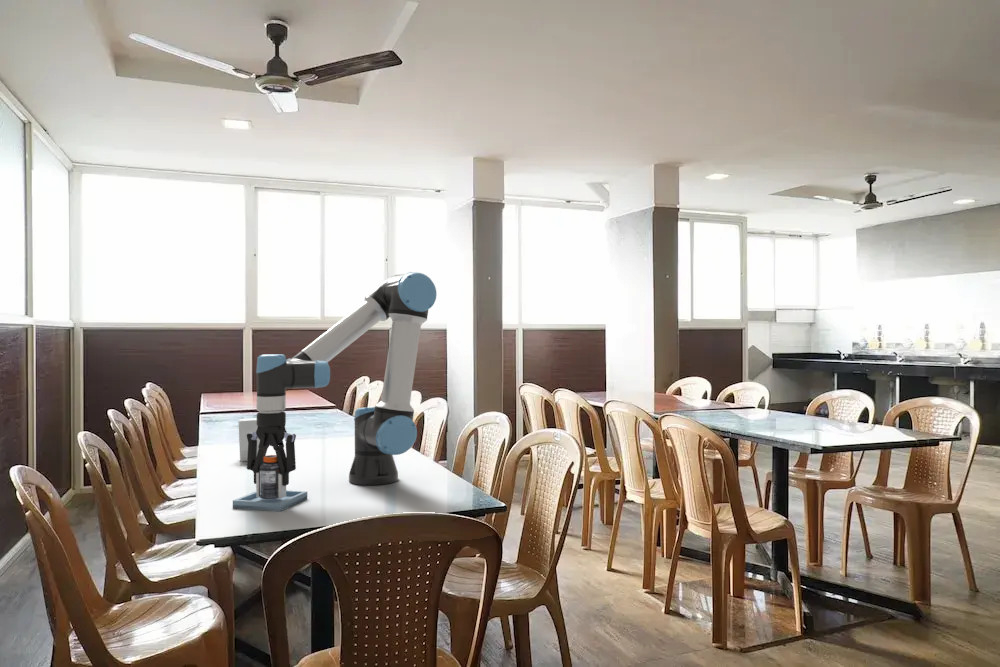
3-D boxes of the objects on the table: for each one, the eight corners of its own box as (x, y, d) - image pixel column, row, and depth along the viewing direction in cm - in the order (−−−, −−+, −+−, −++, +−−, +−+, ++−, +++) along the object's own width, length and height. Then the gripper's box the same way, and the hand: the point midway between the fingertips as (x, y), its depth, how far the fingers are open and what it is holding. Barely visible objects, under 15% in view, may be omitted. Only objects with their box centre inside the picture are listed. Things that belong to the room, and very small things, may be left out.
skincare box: (264, 457, 260) (264, 417, 260) (263, 460, 254) (263, 419, 254) (240, 458, 258) (240, 417, 258) (238, 461, 252) (238, 420, 252)
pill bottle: (274, 493, 196) (275, 452, 196) (287, 497, 192) (287, 455, 192) (255, 497, 191) (255, 455, 191) (267, 501, 188) (267, 458, 188)
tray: (307, 498, 197) (307, 491, 197) (280, 511, 183) (280, 503, 183) (262, 495, 200) (262, 488, 200) (232, 508, 187) (232, 500, 187)
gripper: (309, 410, 193) (309, 495, 193) (248, 408, 198) (248, 491, 198) (295, 413, 186) (295, 501, 186) (231, 411, 190) (232, 497, 190)
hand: (271, 496), depth 192 cm, fingers closed on pill bottle, 6 cm apart
